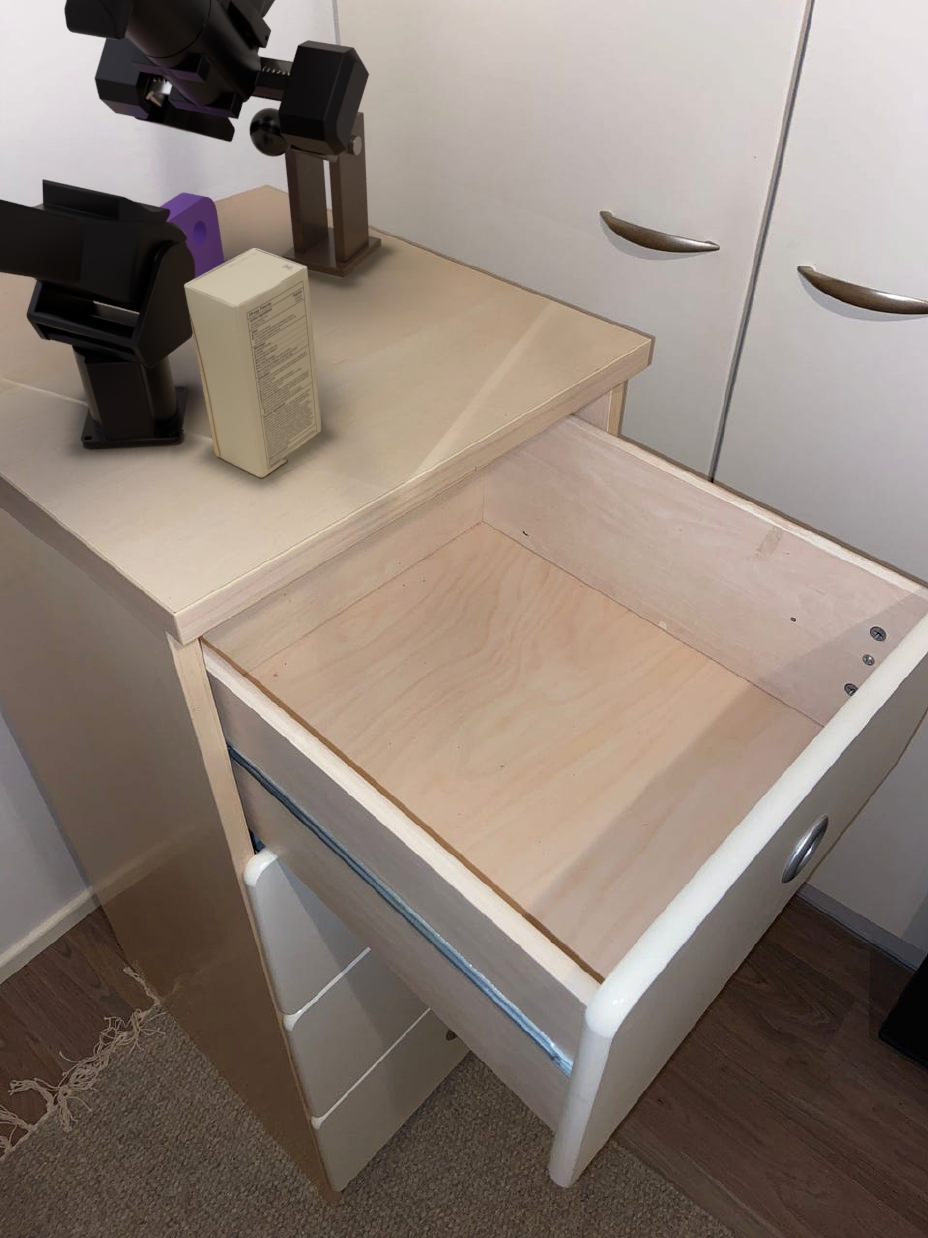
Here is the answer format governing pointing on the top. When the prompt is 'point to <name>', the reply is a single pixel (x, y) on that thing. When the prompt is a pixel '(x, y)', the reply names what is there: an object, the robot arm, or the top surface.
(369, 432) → the top surface
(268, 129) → the lock lever
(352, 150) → the lock bracket
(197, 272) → the bracket
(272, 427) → the cosmetic box
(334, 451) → the top surface
